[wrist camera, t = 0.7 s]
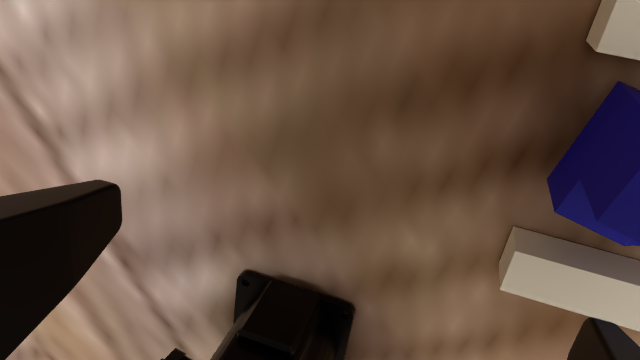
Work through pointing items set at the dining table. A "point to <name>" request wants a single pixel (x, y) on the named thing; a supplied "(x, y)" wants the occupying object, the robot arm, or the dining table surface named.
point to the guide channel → (571, 258)
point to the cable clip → (604, 171)
